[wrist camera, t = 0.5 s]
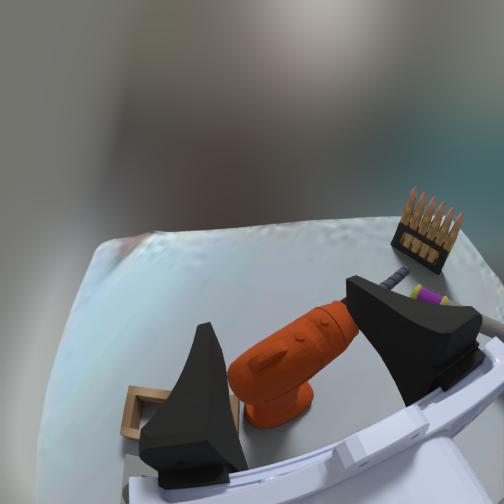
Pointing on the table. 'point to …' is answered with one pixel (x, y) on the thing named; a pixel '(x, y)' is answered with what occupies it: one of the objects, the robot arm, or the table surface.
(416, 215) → the ammunition clip
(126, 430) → the rack
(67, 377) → the table surface
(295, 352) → the toy drill
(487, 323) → the hammer
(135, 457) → the socket block
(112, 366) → the table surface
